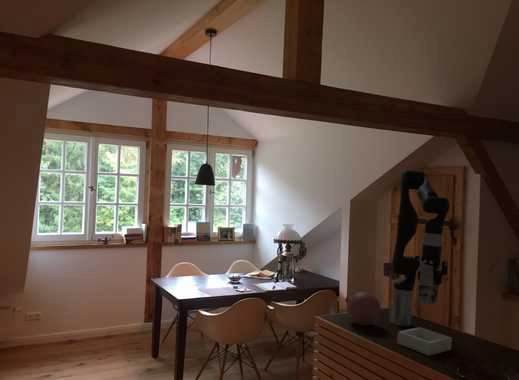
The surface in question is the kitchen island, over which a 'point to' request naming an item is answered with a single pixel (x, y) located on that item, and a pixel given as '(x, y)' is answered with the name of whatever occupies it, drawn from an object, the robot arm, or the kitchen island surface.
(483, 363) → the kitchen island surface
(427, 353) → the carton dock
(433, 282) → the coffee box
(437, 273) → the robot arm
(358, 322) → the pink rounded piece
